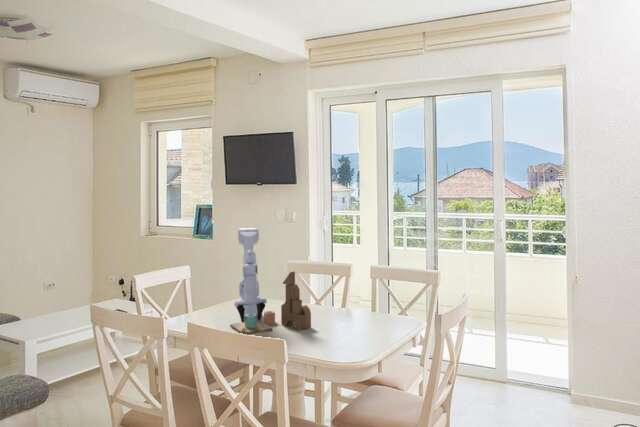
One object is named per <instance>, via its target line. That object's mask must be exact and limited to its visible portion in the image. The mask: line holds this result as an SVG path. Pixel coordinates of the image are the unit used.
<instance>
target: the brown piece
mask: <svg viewBox="0 0 640 427" xmlns="http://www.w3.org/2000/svg"><path fill="white" fill-rule="evenodd" d="M250 316H252V314H250ZM229 326H230V328H232V329H233V330H234V331H236V332H237V333H239V334H240V333H243V334H245V335H249V334H250V335H251V334H257V333H263V332H269V331H270V332H271V331H273V327H271V326H269V324H264V321H263V322H262V321H261V320H257V326H256V327H253V328H247V327H245V321H244V322H239V323H231V324H230V325H229Z"/></svg>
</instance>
